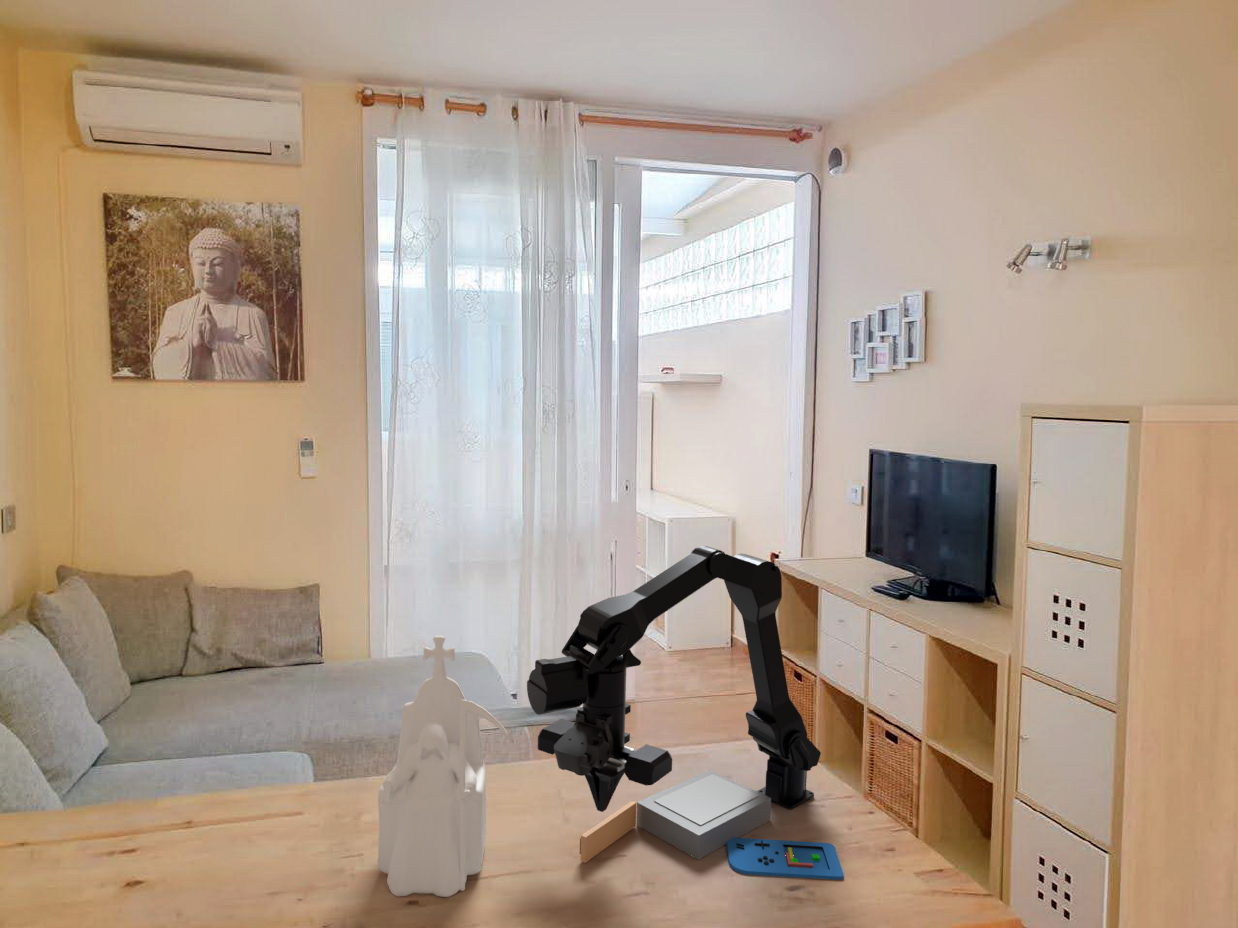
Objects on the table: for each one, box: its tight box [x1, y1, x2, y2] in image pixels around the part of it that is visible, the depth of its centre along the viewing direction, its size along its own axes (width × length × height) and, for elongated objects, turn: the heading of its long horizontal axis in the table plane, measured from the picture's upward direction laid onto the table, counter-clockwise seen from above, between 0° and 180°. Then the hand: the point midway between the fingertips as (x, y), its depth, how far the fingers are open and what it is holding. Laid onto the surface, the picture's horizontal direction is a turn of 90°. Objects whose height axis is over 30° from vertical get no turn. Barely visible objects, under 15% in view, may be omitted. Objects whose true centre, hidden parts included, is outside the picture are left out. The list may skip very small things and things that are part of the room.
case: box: [636, 769, 772, 860], centre depth 129 cm, size 16×12×4 cm
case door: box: [579, 800, 638, 863], centre depth 123 cm, size 1×12×4 cm, turn 145°
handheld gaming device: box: [726, 837, 845, 881], centre depth 120 cm, size 8×1×15 cm
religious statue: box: [377, 635, 509, 898], centre depth 114 cm, size 17×14×30 cm
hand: (601, 810), depth 120 cm, fingers closed
